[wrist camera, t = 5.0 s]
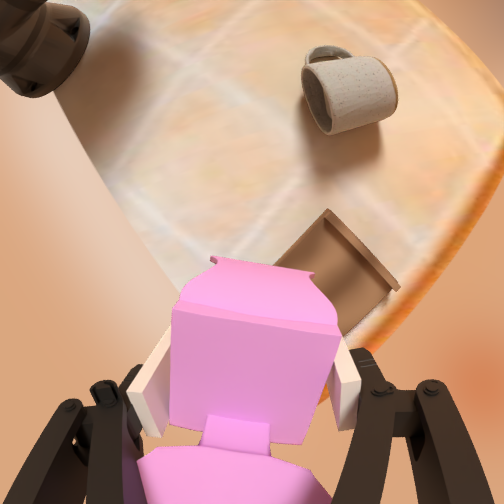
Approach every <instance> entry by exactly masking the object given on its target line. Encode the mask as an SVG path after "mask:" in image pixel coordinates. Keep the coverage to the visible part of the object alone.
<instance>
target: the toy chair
mask: <svg viewBox="0 0 504 504" xmlns="http://www.w3.org/2000/svg"><path fill="white" fill-rule="evenodd" d="M210 261H211V262H214V263H215V264H216V265H215V266H213V267H212V268H210V269H209V270H207V271H205V272H203V273H202V274H200V275H198V276H197V277H195V278H193V279H192V280H190V281H189V282H188V283H187V284H186V285H185V286H184V288H183V289H182V291H181V294H180V297H179V300H178V302H177V303H176V304H175V305H174V307H173V308H172V320H171V350H170V400H169V423H170V425H173V426H178V427H181V428H186V429H190V430H195V431H201V432H203V434H202V438H201V440H200V442H199V444H198V445H197V446H171V447H156V448H155V449H154V450H153V451H152V452H150V453H149V454H147V455H146V456H144V457H142V458H141V459H139V460H137V465H138V468H139V472H140V476H141V480H142V484H143V488H144V492H145V496H146V500H147V503H148V504H331V502H332V498H331V496H330V495H329V494H328V493H327V491H326V490H325V489H324V488H323V487H322V485H321V484H320V483H319V482H318V481H317V479H316V478H315V477H314V475H313V474H312V472H311V471H310V470H309V469H306V468H303V467H300V466H297V465H294V464H291V463H289V462H285V461H283V460H280V459H277V458H274V457H272V456H271V452H270V442H271V443H279V444H292V445H301V444H302V442H303V440H304V438H305V436H306V433H307V430H308V428H309V426H310V423H311V420H312V418H313V415H314V412H315V409H316V407H317V404H318V401H319V399H320V396H321V393H322V391H323V388H324V385H325V383H326V380H327V378H328V375H329V373H330V370H331V368H332V365H333V362H334V359H335V356H336V353H337V350H338V347H339V344H340V341H341V338H342V334H341V332H340V330H339V328H338V326H337V322H338V317H337V312H336V310H335V308H334V306H333V305H332V303H331V302H330V301H329V300H328V299H327V297H326V296H325V295H324V294H323V293H322V292H321V291H320V290H319V289H318V288H317V287H316V286H315V285H314V284H313V282H312V281H311V280H310V279H313V278H314V276H315V273H313V272H308V271H302V270H296V269H289V268H283V267H277V266H271V265H265V264H259V263H253V262H247V261H241V260H235V259H229V258H223V257H217V256H211V257H210Z"/></svg>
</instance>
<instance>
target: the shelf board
mask: <svg viewBox="0 0 504 504" xmlns="http://www.w3.org/2000/svg"><path fill="white" fill-rule="evenodd" d="M273 266H277V267H283V268H289V269H296V270H302V271H308V272H313V273H315V276H314V278H313V279H310V280H311V281H312V282H313V284H314V285H315V286H316V287H317V288H318V289H319V290H320V291H321V292H322V293H323V294H324V295H325V296H326V297H327V299H328V300H329V301H330V302H331V303H332V305H333V306H334V308H335V310H336V312H337V317H338V322H337V326H338V328H339V330H340V332H341V334H342V337H343V336H344V335H345V334H346V333H347V332H348V331H349V330H351V329H352V328H353V327H354V326H355V325H356V324H357V323H358V322H359V321H360V320H361V319H362V318H363V317H364V316H365V315H366V314H367V313H368V312H369V311H370V310H372V309H373V308H374V307H375V306H376V305H377V304H378V303H379V302H380V301H381V300H382V299H383V298H384V297H385V295H386V294H387V293H388V292H389V291H390V290H391V289H394V290H395V291H396V292H397V291H398V290H399V289H400V288H401V286H400V285H399V284H398V282H397V280H396V279H395V278H394V277H393V276H392V275H391V274H390V272H389V271H388V270H387V269H386V268H385V267H384V266H383V265H382V264H381V262H380V261H379V260H378V259H377V258H376V257H375V256H374V255H373V254H372V253H371V252H370V250H369V249H368V248H367V247H366V246H365V245H364V244H363V243H362V242H361V241H360V240H359V239H358V238H357V237H356V236H355V235H354V233H353V232H352V231H351V230H350V229H349V228H348V227H347V226H346V225H345V224H344V223H343V222H342V221H341V220H340V219H339V218H338V217H337V216H336V215H335V214H334V213H333V212H332V211H331V210H329V209H326V210H325V211H324V212H323V214H322V215H321V216H320V217H319V218H318V219H317V220H316V221H315V222H314V223H313V224H312V225H311V226H310V227H309V228H308V229H307V230H306V232H305V233H304V234H303V235H302V236H301V237H300V238H299V239H298V240H297V241H296V242H295V243H294V244H293V245H292V246H291V247H290V248H289V249H288V250H287V251H286V252H285V253H284V254H283V256H282V257H281V258H280V259H279V260H278V261H277V262H276V263H275V264H274V265H273Z"/></svg>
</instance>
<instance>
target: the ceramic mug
mask: <svg viewBox="0 0 504 504" xmlns="http://www.w3.org/2000/svg"><path fill="white" fill-rule="evenodd" d="M322 56H338V57H341V58H343V59H338V60H331V61H324V62H318V63H312V64H309V62H310V61H311V60H312V59H314V58H316V57H322ZM301 80H302V87H303V91H304V95H305V98H306V101H307V104H308V107H309V110H310V112H311V114H312V117H313V118H314V120H315V122H316V124H317V125H318V127H319V128H320V129H321V131H322V132H323V133H325V134H326V135H334V134H337V133H340V132H343V131H347V130H350V129H353V128H357V127H360V126H363V125H367V124H370V123H374V122H378V121H381V120H383V119H385V118H387V117H390V116H391V115H392V114H393V113H394V112H395V110H396V108H397V104H398V90H397V86H396V83H395V80H394V77H393V75H392V74H391V72H390V70H389V69H388V68H387V66H386V65H385V64H384V63H383V62H381V61H380V60H379V59H377V58H374V57H365V56H358V57H355V56H354V55H353V54H352V53H350V52H349V51H347V50H346V49H344V48H341V47H337V46H330V45H324V46H318V47H315V48H312V49H311V50H309V52H308V53H307V55H306V57H305V66H304V67H303V68H302V73H301Z"/></svg>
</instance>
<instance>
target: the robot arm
mask: <svg viewBox="0 0 504 504" xmlns="http://www.w3.org/2000/svg"><path fill="white" fill-rule="evenodd" d="M46 1H47V0H0V79H1V80H2V81H3V82H4V83H5V84H7V86H9V87H10V88H11V89H12V90H13V91H14V92H15V93H17V94H19V95H21V96H25V97H29V98H38V97H42V96H44V95H46V94H48V93H50V92H51V91H53V90H54V89H56V88H57V87H58V86H59V85H60V84H61V83H62V82H63V81H64V80H65V79H66V78H67V77H68V76H69V75H70V73H71V72H72V71H73V69H74V68H75V67H76V65H77V64H78V62H79V60H80V59H81V57H82V55H83V53H84V50H85V48H86V45H87V42H88V39H89V33H90V24H89V20H88V18H87V16H86V15H85V14H84V13H82V12H81V11H80V10H78V9H77V8H75V7H73V6H69V5H63V4H56V3H49V2H46ZM170 350H171V325H170V326H169V328H168V329H167V331H166V332H165V334H164V335H163V337H162V338H161V340H160V341H159V343H158V344H157V345H156V347H155V349H154V350H153V352H152V353H151V354H150V356H149V357H148V359H147V361H146V362H145V364H138V365H136V366H135V367H134V368H132V369H131V370H130V372H129V373H128V375H127V376H126V377H125V379H124V381H123V382H122V383H121V385H120V386H119V387H117V384H116V383H115V382H114V381H112V380H103V381H99V382H97V383H95V384H94V385H93V386H91V388H90V392H91V395H92V397H93V399H94V401H95V403H96V406H87V407H83V404H82V402H81V401H80V400H79V399H68V400H65V401H64V402H62V403H61V404H60V405H59V407H58V409H57V410H56V411H55V413H54V414H53V416H52V418H51V419H50V421H49V423H48V424H47V426H46V427H45V429H44V430H43V432H42V434H41V435H40V438H39V439H38V440H37V442H36V444H35V445H34V447H33V449H32V450H31V452H30V454H29V456H28V457H27V459H26V461H25V463H24V464H23V466H22V468H21V470H20V472H19V473H18V475H17V477H16V479H15V481H14V483H13V485H12V487H11V489H10V490H9V492H8V494H7V496H6V498H5V500H4V502H3V504H83V502H84V499H85V496H86V504H148V503H147V500H146V496H145V492H144V488H143V484H142V480H141V476H140V472H139V468H138V465H137V460H139V459H141V458H142V457H144V453H143V441H142V438H141V436H140V432H141V430H142V428H143V429H144V432H145V433H146V436H151V437H161V438H162V436H163V433H164V431H165V428H166V426H167V423H168V421H169V400H170ZM326 383H327V387H328V391H329V395H330V399H331V403H332V407H333V411H334V415H335V419H336V423H337V427H338V431H344V430H349V429H355V430H354V433H353V437H352V441H351V444H350V448H349V451H348V455H347V458H346V461H345V464H344V467H343V471H342V473H341V476H340V480H339V482H338V485H337V488H336V491H335V494H334V496H333V499H332V502H331V504H380V500H381V497H382V492H383V488H384V483H385V478H386V473H387V467H388V461H389V456H390V449H391V442H392V437H405V438H406V443H407V447H408V451H409V456H410V460H411V465H412V470H413V475H414V481H415V486H416V492H417V498H418V504H494V500H493V497H492V494H491V491H490V488H489V485H488V482H487V479H486V476H485V474H484V471H483V468H482V466H481V463H480V460H479V458H478V455H477V453H476V450H475V448H474V445H473V443H472V440H471V438H470V436H469V434H468V431H467V429H466V427H465V424H464V422H463V420H462V418H461V415H460V413H459V411H458V409H457V407H456V405H455V403H454V401H453V399H452V397H451V394H450V392H449V391H448V389H447V386H446V385H445V384H444V383H443V382H441V381H439V380H434V379H432V380H425V381H422V382H421V383H420V384H418V386H417V388H416V390H398V389H396V387H395V386H394V385H393V384H392V383H390V382H387V381H386V380H385V378H384V377H383V375H382V373H381V371H380V369H379V367H378V365H377V364H376V362H375V360H374V358H373V356H372V354H371V353H370V352H369V351H368V350H366V349H365V348H357V349H351V350H348V348H347V346H346V343H345V341H344V339H343V337H342V338H341V341H340V344H339V347H338V350H337V353H336V356H335V359H334V362H333V365H332V368H331V370H330V373H329V375H328V378H327V380H326ZM73 439H75V440H76V443H75V444H74V445H73V443H72V441H73Z"/></svg>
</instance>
